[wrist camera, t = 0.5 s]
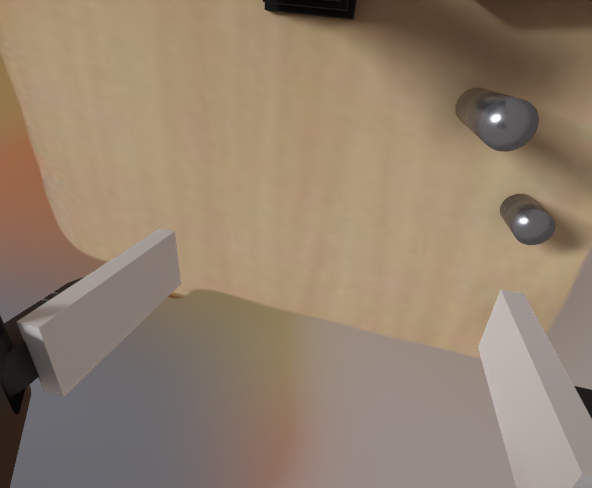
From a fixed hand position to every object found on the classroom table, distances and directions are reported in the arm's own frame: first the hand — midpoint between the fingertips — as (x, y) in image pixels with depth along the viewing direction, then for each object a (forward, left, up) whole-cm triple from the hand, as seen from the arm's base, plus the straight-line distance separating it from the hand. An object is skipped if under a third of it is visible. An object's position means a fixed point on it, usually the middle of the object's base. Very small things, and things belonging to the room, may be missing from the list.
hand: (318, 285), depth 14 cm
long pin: (-5, +9, -25) cm, 27 cm away
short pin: (+4, +15, -25) cm, 29 cm away
